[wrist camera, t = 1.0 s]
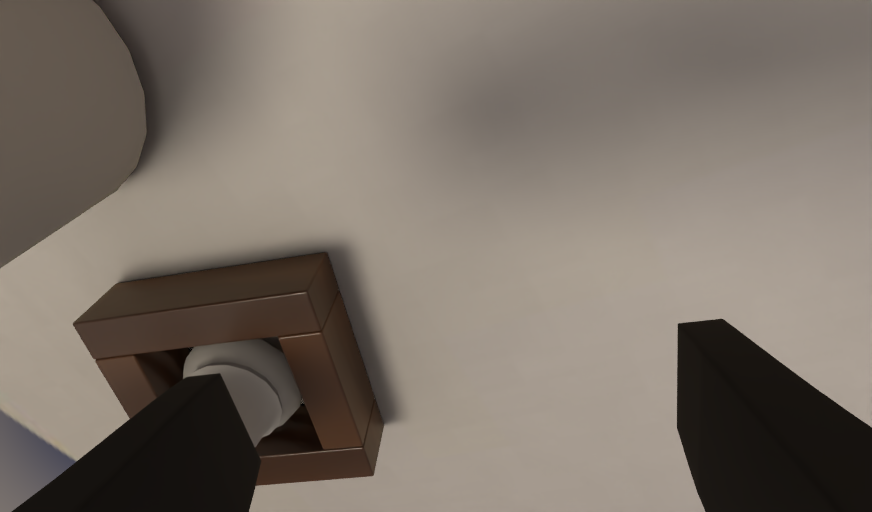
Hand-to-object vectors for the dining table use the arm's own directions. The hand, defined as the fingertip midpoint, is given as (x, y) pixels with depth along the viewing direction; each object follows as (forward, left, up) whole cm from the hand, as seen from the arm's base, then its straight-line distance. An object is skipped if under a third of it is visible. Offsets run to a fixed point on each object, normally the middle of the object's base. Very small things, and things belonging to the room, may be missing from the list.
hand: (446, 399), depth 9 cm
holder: (-6, +9, -10) cm, 14 cm away
